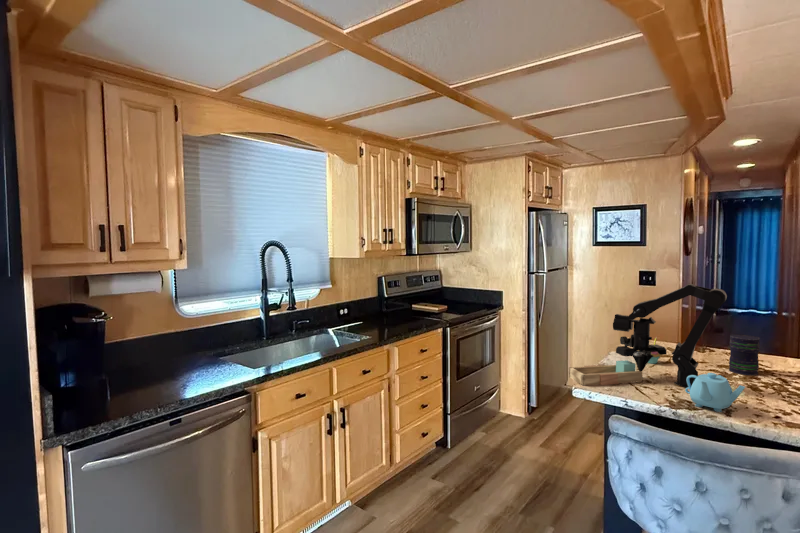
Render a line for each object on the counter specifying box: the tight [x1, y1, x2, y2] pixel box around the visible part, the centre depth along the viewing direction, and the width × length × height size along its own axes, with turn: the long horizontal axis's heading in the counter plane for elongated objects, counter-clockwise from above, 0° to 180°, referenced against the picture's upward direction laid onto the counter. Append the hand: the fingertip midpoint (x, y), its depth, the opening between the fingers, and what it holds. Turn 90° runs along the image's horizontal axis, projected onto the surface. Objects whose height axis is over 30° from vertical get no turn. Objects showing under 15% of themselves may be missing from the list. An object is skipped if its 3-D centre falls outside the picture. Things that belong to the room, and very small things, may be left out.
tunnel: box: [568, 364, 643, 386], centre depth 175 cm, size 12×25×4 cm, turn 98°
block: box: [615, 360, 636, 372], centre depth 177 cm, size 5×5×5 cm
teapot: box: [684, 372, 746, 413], centre depth 146 cm, size 15×14×11 cm
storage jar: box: [728, 333, 761, 376], centre depth 183 cm, size 10×10×15 cm
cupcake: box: [647, 337, 663, 365], centre depth 198 cm, size 9×8×12 cm
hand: (640, 371), depth 178 cm, fingers closed
